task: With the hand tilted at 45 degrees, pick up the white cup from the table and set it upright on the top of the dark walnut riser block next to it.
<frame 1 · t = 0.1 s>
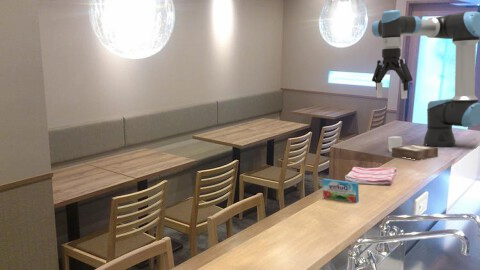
hand: (391, 98, 199), 28 cm above the counter, tool pointing down, fingers open, 13 cm apart
walnut riser: (414, 156, 212), on the counter
blue flat box: (340, 200, 150), on the counter
white cup: (395, 151, 227), on the counter
dish towel: (371, 179, 178), on the counter
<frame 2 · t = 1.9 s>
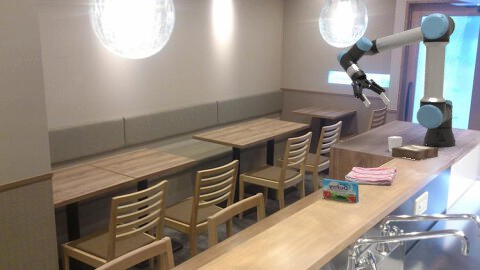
hand: (378, 104, 233), 23 cm above the counter, tool tilted 45°, fingers open, 13 cm apart
nothing on the counter moved.
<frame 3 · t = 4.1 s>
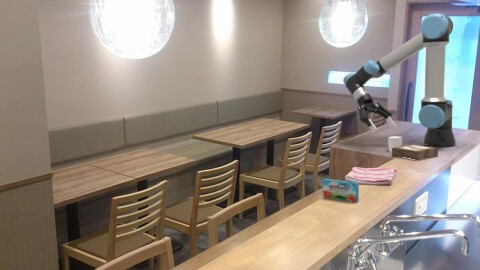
hand: (385, 129, 230), 10 cm above the counter, tool tilted 45°, fingers open, 13 cm apart
nothing on the counter moved.
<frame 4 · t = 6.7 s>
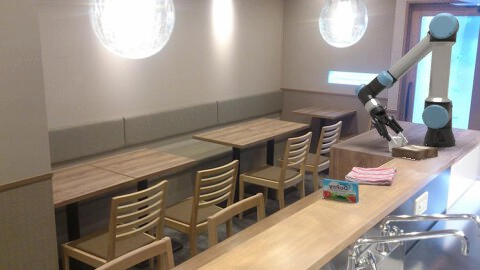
hand: (400, 144, 223), 4 cm above the counter, tool tilted 45°, fingers closed on white cup, 7 cm apart
white cup: (395, 151, 227), on the counter, touching gripper
everything else where it was.
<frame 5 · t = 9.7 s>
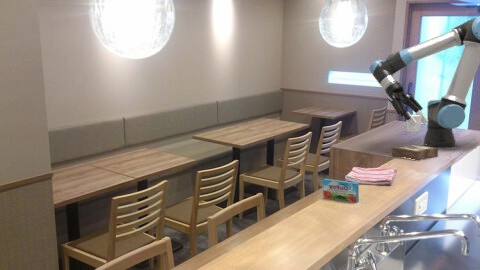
hand: (420, 123, 207), 15 cm above the counter, tool tilted 45°, fingers closed on white cup, 7 cm apart
white cup: (413, 131, 211), point 12 cm above the counter, touching gripper
everything else where it was.
when the fingers open (9 cm above the counter, at t = 11.6 s): white cup drops 1 cm, resting on walnut riser.
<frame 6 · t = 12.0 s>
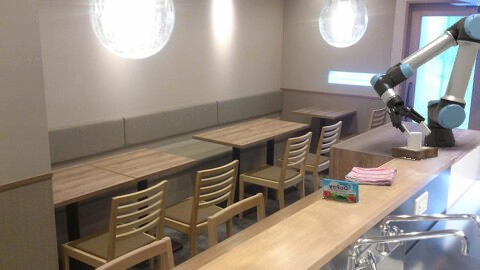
hand: (419, 135, 208), 10 cm above the counter, tool tilted 45°, fingers open, 12 cm apart
white cup: (414, 148, 211), point 4 cm above the counter, touching walnut riser
everything else where it was.
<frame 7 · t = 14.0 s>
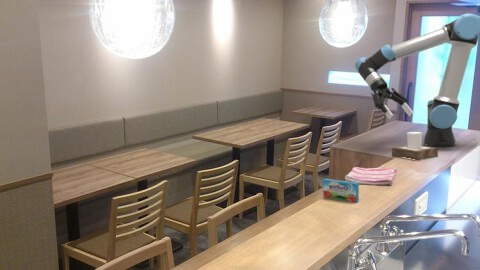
hand: (401, 115, 216), 18 cm above the counter, tool tilted 45°, fingers open, 13 cm apart
nothing on the counter moved.
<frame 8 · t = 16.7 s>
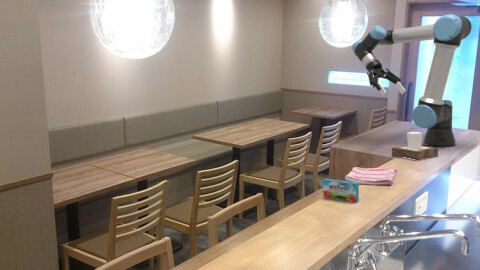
hand: (394, 93, 232), 28 cm above the counter, tool tilted 45°, fingers open, 13 cm apart
nothing on the counter moved.
at the end: white cup inside the target area on the walnut riser (0.1 cm from its centre), point 3.9 cm above the walnut riser's base; white cup tilted 0°; the gripper is holding nothing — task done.
